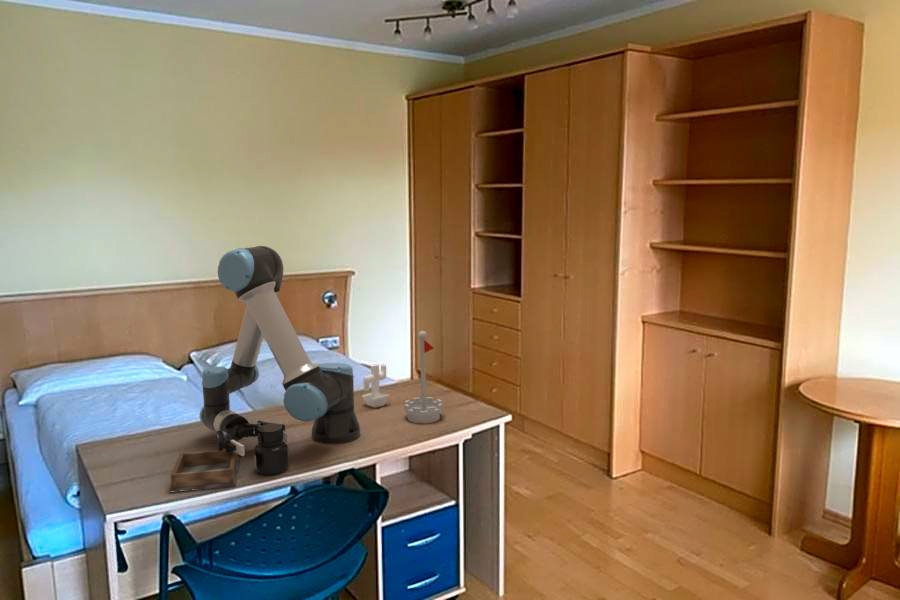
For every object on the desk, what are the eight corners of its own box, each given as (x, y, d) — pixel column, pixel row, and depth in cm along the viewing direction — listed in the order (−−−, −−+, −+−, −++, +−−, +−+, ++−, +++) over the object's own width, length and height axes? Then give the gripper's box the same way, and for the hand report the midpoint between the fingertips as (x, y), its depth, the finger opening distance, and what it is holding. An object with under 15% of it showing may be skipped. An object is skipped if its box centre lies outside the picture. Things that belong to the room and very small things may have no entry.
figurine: (359, 405, 239) (357, 365, 237) (379, 400, 246) (378, 360, 243) (371, 410, 234) (370, 368, 232) (392, 404, 240) (391, 364, 238)
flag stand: (396, 418, 225) (394, 331, 221) (423, 409, 235) (422, 325, 230) (424, 427, 217) (422, 336, 212) (450, 417, 226) (450, 330, 222)
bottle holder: (239, 462, 188) (238, 447, 188) (235, 486, 173) (234, 469, 172) (179, 468, 185) (178, 453, 184) (169, 493, 169) (168, 476, 169)
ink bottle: (272, 460, 190) (270, 420, 188) (296, 466, 186) (294, 424, 184) (247, 472, 181) (244, 430, 180) (271, 479, 177) (269, 435, 176)
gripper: (270, 427, 208) (306, 445, 192) (191, 448, 191) (223, 470, 175) (269, 404, 207) (305, 420, 191) (189, 423, 190) (221, 443, 174)
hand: (266, 444), depth 183 cm, fingers open, 13 cm apart
